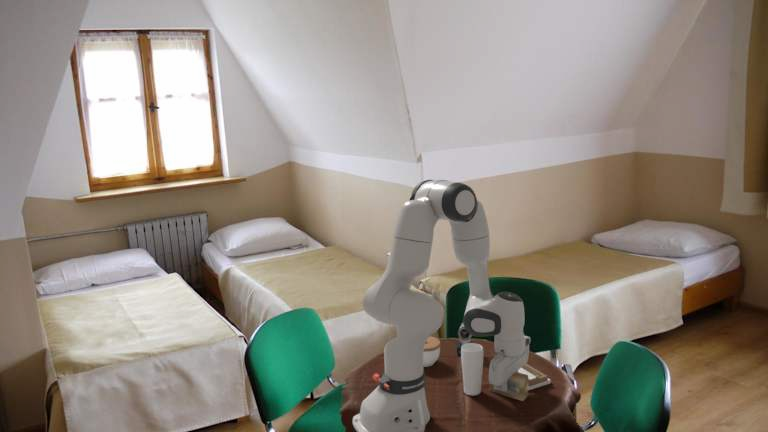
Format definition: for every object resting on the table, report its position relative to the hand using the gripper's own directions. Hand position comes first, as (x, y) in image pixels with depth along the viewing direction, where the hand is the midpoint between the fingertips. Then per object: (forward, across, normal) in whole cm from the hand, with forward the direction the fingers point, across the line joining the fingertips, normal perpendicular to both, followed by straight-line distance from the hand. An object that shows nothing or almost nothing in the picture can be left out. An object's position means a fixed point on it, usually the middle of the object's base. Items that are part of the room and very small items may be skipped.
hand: (508, 386), depth 187 cm
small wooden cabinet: (+2, +12, +2) cm, 13 cm away
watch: (+2, +17, +26) cm, 31 cm away
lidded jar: (+3, +3, +33) cm, 33 cm away
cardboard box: (+2, 0, 0) cm, 2 cm away
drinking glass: (+2, -5, +10) cm, 11 cm away
